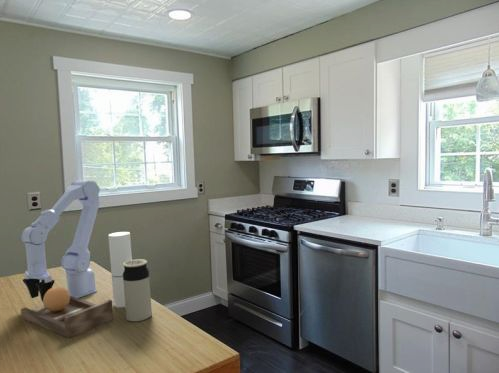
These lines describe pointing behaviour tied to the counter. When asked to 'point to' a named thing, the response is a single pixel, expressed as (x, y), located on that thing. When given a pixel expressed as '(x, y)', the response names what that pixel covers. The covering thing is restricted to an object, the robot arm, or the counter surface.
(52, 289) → the ball
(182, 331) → the counter surface
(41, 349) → the counter surface
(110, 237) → the cylindrical container
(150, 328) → the counter surface
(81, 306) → the tray
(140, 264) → the travel mug
